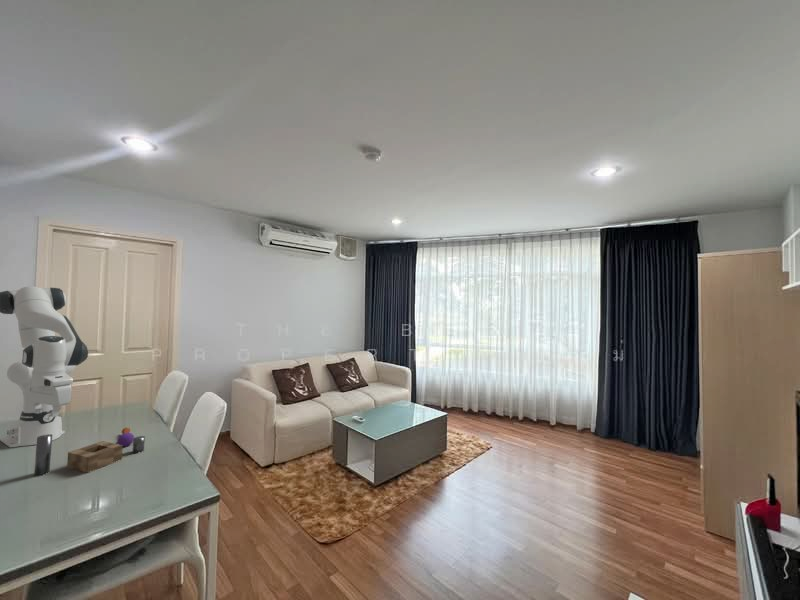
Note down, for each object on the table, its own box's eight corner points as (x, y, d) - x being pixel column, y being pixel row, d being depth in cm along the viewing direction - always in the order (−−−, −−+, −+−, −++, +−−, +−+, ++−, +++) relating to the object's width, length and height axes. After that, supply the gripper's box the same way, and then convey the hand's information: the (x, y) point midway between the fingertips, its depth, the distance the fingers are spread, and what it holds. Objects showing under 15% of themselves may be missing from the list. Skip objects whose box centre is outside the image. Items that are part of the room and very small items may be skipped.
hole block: (66, 467, 129) (68, 452, 129) (102, 455, 141) (102, 441, 141) (87, 473, 126) (88, 457, 126) (121, 459, 137) (122, 445, 137)
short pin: (130, 452, 144) (131, 438, 144) (139, 448, 148) (140, 435, 148) (136, 453, 143) (137, 440, 143) (146, 450, 147) (146, 436, 147)
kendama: (135, 424, 166) (135, 434, 151) (131, 437, 165) (131, 447, 150) (120, 424, 163) (119, 434, 147) (116, 437, 161) (115, 448, 146)
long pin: (31, 474, 123) (34, 437, 123) (45, 469, 127) (48, 433, 127) (38, 476, 122) (41, 439, 122) (52, 471, 126) (54, 435, 126)
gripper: (20, 377, 125) (17, 413, 125) (55, 382, 119) (52, 420, 119) (42, 374, 131) (40, 409, 131) (76, 379, 125) (74, 415, 125)
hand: (46, 414), depth 125 cm, fingers open, 8 cm apart
